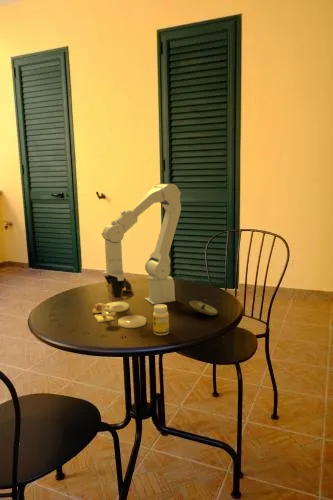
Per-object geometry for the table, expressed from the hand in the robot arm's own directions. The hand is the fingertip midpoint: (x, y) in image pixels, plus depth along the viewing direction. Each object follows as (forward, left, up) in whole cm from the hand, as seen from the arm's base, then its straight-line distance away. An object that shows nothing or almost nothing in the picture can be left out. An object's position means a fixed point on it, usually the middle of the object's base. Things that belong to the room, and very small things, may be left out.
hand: (115, 295), depth 146 cm
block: (0, 0, -1) cm, 1 cm away
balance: (+7, +8, -5) cm, 12 cm away
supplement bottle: (-5, +29, -5) cm, 30 cm away
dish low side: (0, 0, -5) cm, 5 cm away
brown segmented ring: (-8, -19, -5) cm, 21 cm away
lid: (-25, +20, -5) cm, 32 cm away
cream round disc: (0, +17, -5) cm, 18 cm away
